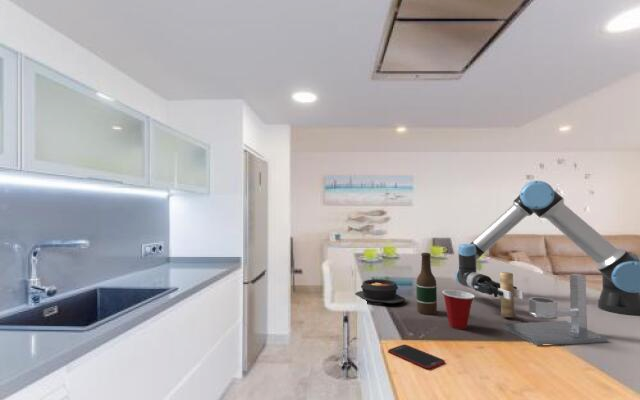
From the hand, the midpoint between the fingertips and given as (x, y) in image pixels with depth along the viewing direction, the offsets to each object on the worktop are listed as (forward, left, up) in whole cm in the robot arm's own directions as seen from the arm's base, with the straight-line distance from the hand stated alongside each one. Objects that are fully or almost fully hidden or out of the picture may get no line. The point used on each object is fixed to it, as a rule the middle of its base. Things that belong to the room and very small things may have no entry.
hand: (516, 295), depth 127 cm
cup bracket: (-3, +13, -10) cm, 16 cm away
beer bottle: (+27, -17, -10) cm, 34 cm away
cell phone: (+48, +24, -11) cm, 55 cm away
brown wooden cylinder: (0, -5, -9) cm, 10 cm away
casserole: (+41, -38, -10) cm, 57 cm away
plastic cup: (+23, +1, -10) cm, 25 cm away
